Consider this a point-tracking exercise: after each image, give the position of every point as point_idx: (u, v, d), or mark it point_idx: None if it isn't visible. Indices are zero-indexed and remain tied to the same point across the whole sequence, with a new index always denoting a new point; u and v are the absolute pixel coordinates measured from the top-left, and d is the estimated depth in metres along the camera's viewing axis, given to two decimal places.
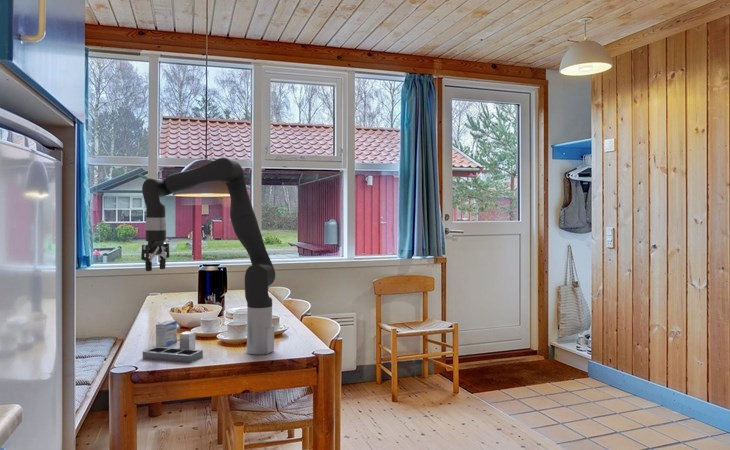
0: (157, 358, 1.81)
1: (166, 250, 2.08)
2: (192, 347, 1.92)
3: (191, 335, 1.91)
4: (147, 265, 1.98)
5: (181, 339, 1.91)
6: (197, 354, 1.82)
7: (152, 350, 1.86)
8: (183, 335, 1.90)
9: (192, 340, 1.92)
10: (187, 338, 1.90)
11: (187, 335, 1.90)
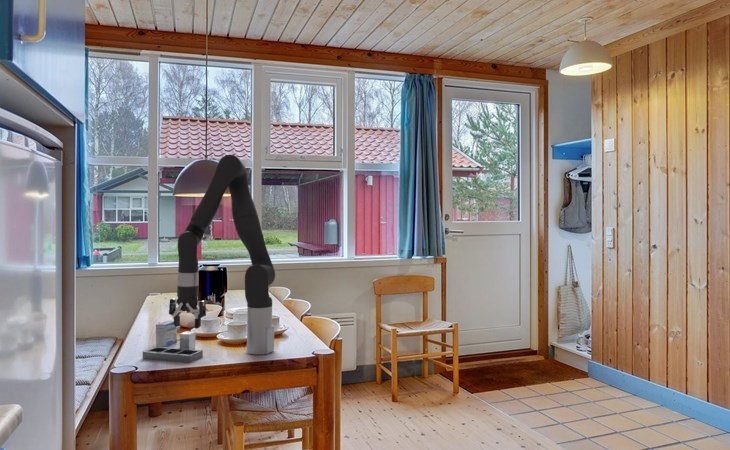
0: (157, 358, 1.81)
1: (175, 306, 1.95)
2: (192, 347, 1.92)
3: (191, 335, 1.91)
4: (200, 322, 1.91)
5: (181, 339, 1.91)
6: (197, 354, 1.82)
7: (152, 350, 1.86)
8: (183, 335, 1.90)
9: (192, 340, 1.92)
10: (187, 338, 1.90)
11: (187, 335, 1.90)
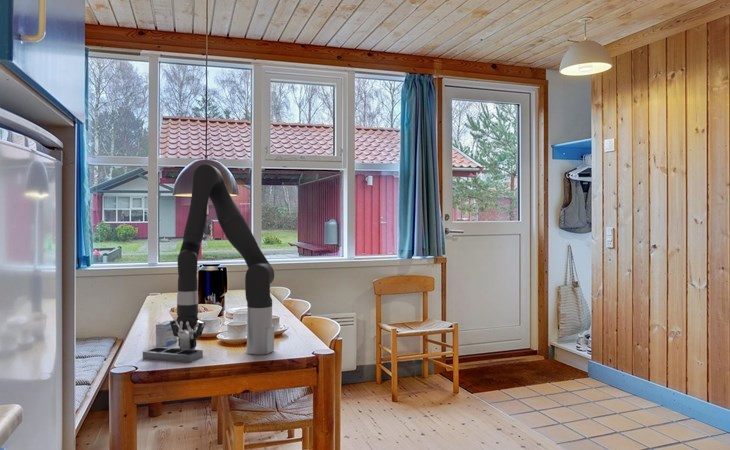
0: (157, 358, 1.81)
1: (177, 326, 1.94)
2: None
3: None
4: (195, 342, 1.92)
5: (181, 338, 1.91)
6: (197, 354, 1.82)
7: (152, 350, 1.86)
8: (183, 335, 1.90)
9: None
10: (187, 338, 1.90)
11: (187, 335, 1.90)
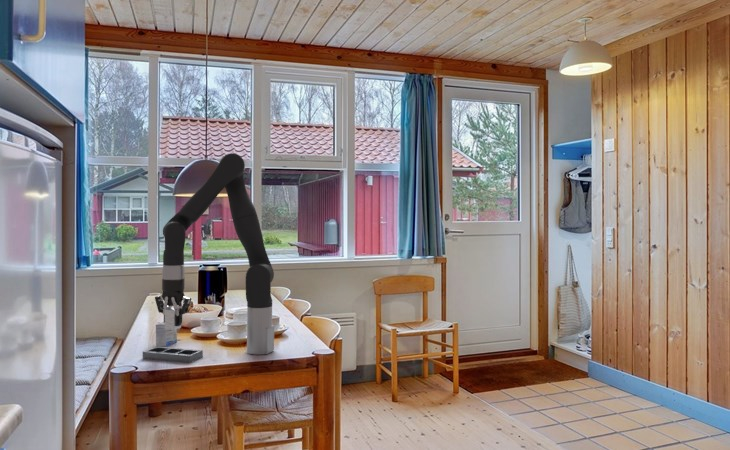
0: (157, 358, 1.81)
1: (162, 303, 1.85)
2: None
3: None
4: (181, 319, 1.83)
5: (166, 315, 1.82)
6: (197, 354, 1.82)
7: (152, 350, 1.86)
8: (168, 311, 1.82)
9: None
10: (172, 315, 1.81)
11: (172, 311, 1.81)
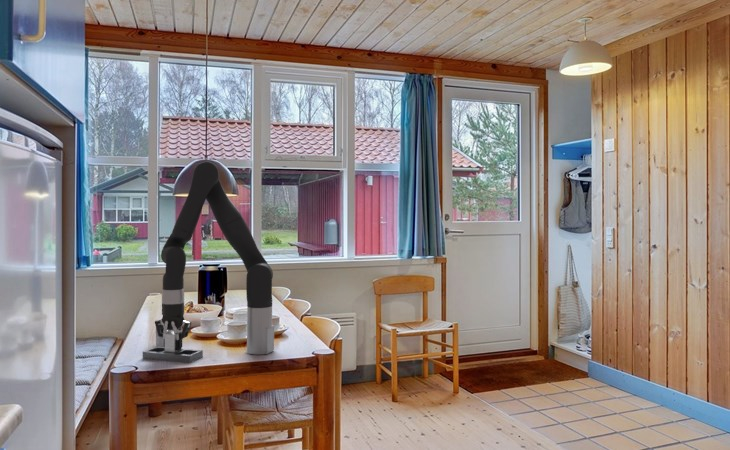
0: (157, 358, 1.81)
1: (162, 327, 1.85)
2: None
3: None
4: (181, 343, 1.83)
5: (166, 339, 1.82)
6: (197, 354, 1.82)
7: (152, 350, 1.86)
8: (168, 336, 1.82)
9: None
10: (172, 339, 1.81)
11: (172, 336, 1.81)
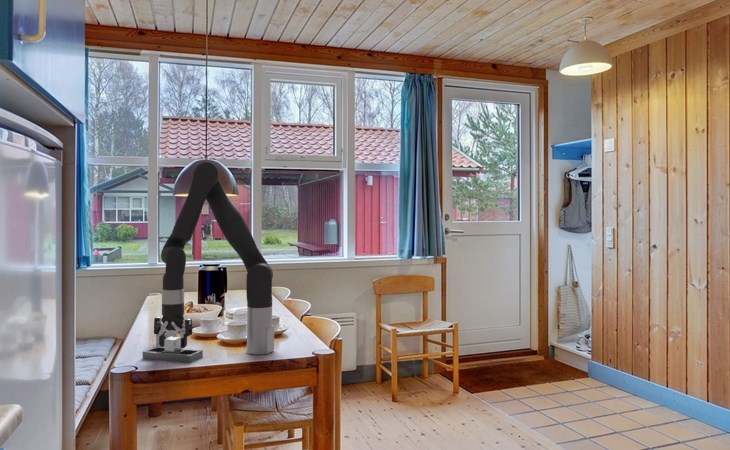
0: (157, 358, 1.81)
1: (160, 324, 1.86)
2: None
3: (176, 341, 1.83)
4: (186, 341, 1.82)
5: (166, 344, 1.82)
6: (197, 354, 1.82)
7: (152, 350, 1.86)
8: (168, 341, 1.82)
9: (178, 346, 1.83)
10: (172, 344, 1.81)
11: (172, 341, 1.81)
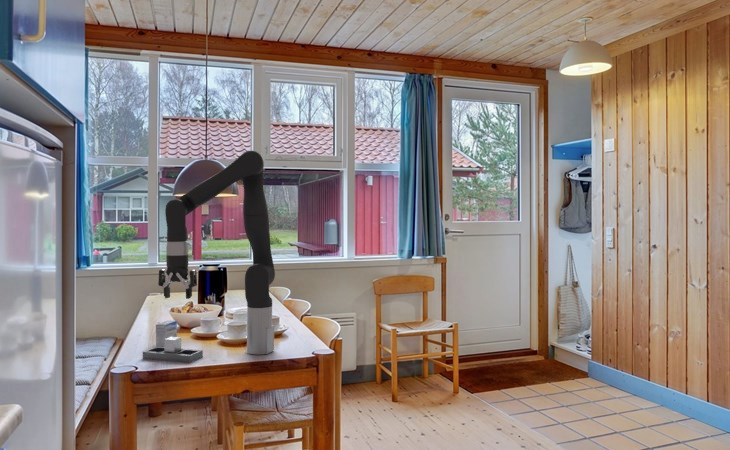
0: (157, 358, 1.81)
1: (164, 277, 1.89)
2: None
3: (176, 341, 1.83)
4: (191, 292, 1.87)
5: (166, 344, 1.82)
6: (197, 354, 1.82)
7: (152, 350, 1.86)
8: (168, 341, 1.82)
9: (178, 346, 1.83)
10: (172, 344, 1.81)
11: (172, 341, 1.81)
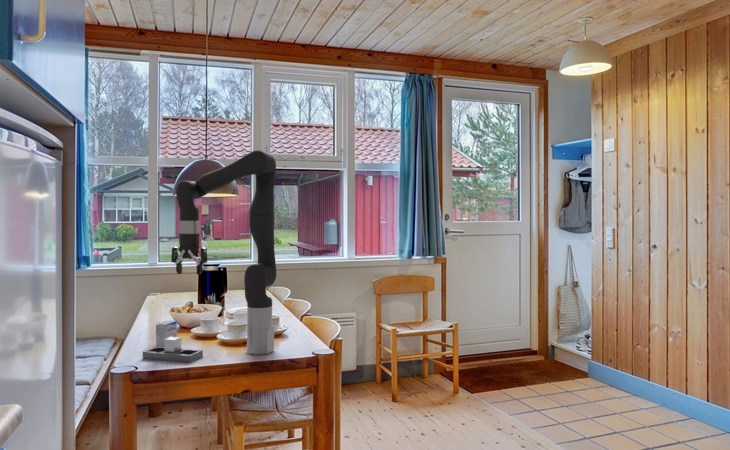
0: (157, 358, 1.81)
1: (177, 254, 2.02)
2: None
3: (176, 341, 1.83)
4: (201, 268, 1.98)
5: (166, 344, 1.82)
6: (197, 354, 1.82)
7: (152, 350, 1.86)
8: (168, 341, 1.82)
9: (178, 346, 1.83)
10: (172, 344, 1.81)
11: (172, 341, 1.81)
